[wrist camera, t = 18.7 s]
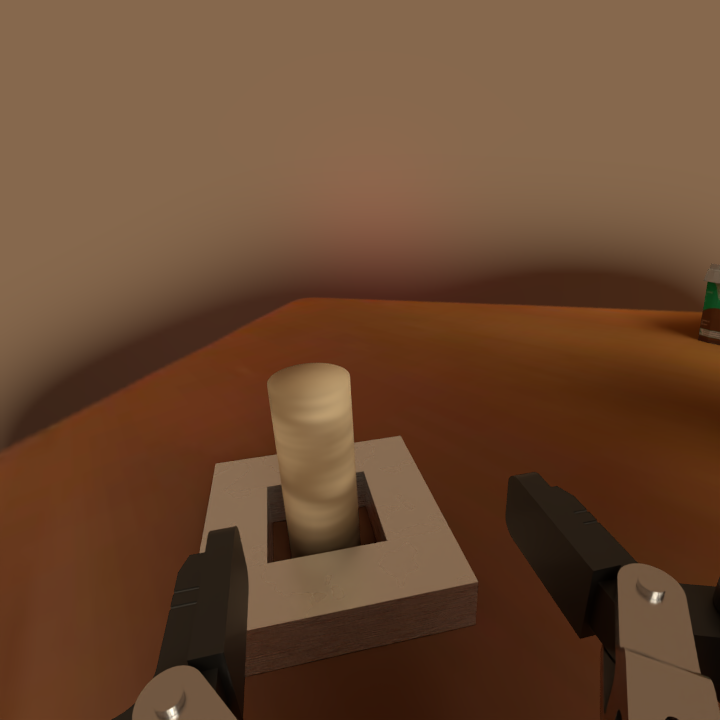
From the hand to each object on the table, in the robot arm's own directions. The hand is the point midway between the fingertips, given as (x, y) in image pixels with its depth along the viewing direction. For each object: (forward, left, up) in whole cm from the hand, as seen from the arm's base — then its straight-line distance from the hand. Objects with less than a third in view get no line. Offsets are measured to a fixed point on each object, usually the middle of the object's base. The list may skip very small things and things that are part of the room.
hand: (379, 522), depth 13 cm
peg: (+1, -12, -12) cm, 17 cm away
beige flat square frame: (+1, -12, -12) cm, 17 cm away
